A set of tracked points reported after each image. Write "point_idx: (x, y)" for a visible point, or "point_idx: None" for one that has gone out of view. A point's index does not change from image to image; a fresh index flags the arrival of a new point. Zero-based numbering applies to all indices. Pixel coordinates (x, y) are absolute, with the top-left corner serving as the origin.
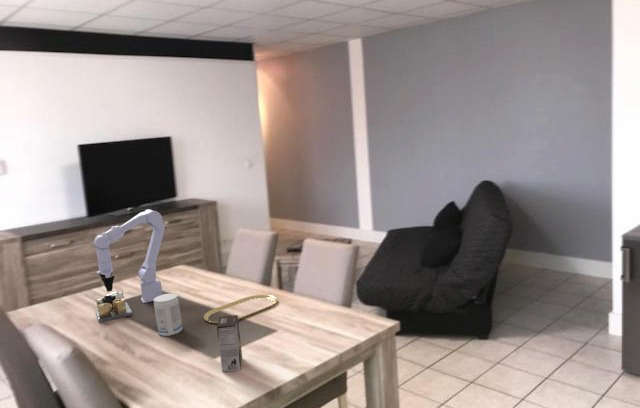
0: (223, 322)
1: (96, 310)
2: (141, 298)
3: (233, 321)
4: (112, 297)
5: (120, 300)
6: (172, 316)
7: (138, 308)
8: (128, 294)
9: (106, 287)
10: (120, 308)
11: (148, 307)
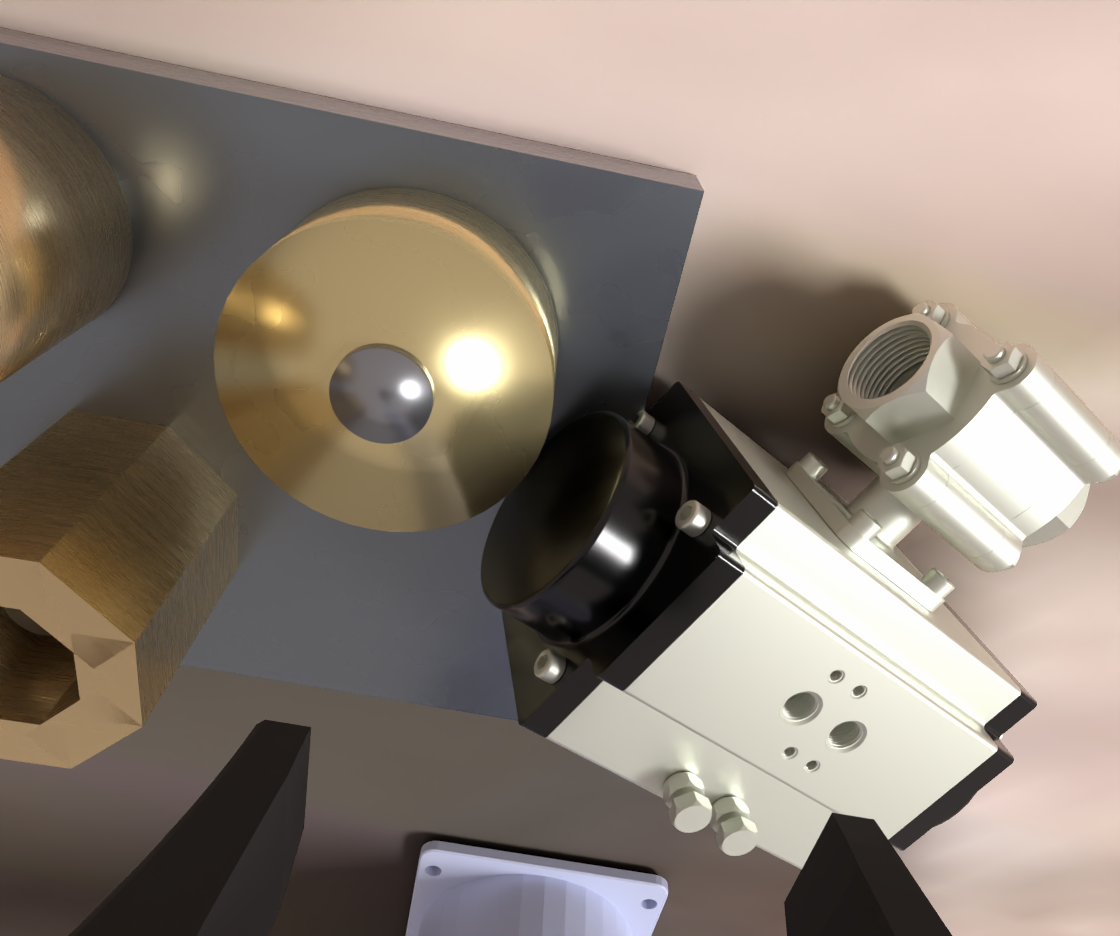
0: None
1: (580, 186)
2: (630, 887)
3: None
4: (539, 658)
5: (76, 690)
6: None
7: (246, 730)
8: (1099, 852)
9: (157, 859)
10: None
11: (183, 813)
